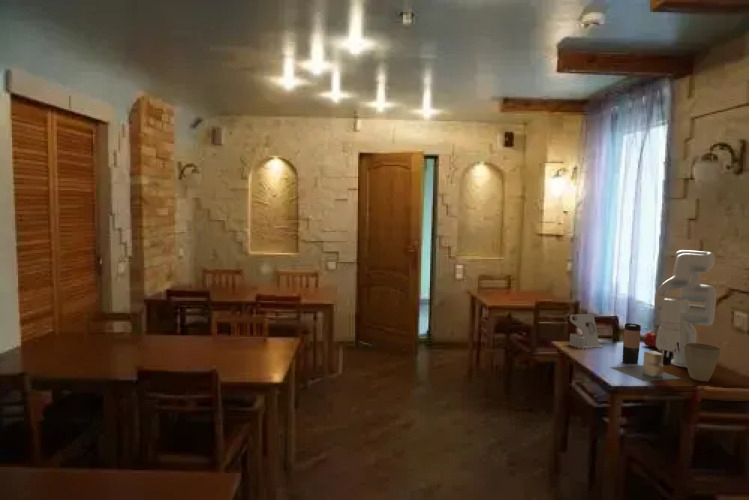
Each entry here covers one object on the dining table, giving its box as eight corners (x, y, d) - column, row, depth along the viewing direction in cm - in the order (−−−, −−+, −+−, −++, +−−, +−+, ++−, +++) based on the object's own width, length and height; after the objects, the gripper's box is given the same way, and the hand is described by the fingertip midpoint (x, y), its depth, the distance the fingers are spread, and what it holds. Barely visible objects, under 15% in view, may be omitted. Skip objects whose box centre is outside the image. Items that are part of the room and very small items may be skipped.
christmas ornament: (639, 345, 330) (640, 329, 329) (649, 344, 333) (651, 328, 333) (652, 349, 322) (653, 332, 321) (662, 348, 326) (663, 331, 325)
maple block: (652, 373, 269) (654, 351, 268) (662, 377, 263) (664, 354, 263) (642, 374, 267) (644, 351, 266) (652, 378, 261) (654, 354, 261)
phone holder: (578, 348, 316) (581, 317, 315) (567, 344, 326) (569, 313, 325) (603, 347, 322) (605, 316, 321) (591, 343, 332) (593, 313, 330)
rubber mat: (645, 366, 284) (645, 365, 284) (680, 379, 263) (681, 378, 263) (609, 368, 277) (609, 367, 277) (643, 382, 256) (643, 381, 256)
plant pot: (674, 375, 270) (676, 342, 268) (700, 374, 273) (702, 342, 272) (698, 385, 255) (701, 350, 254) (725, 384, 258) (728, 350, 257)
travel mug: (638, 362, 291) (641, 324, 290) (638, 365, 285) (641, 327, 283) (622, 360, 295) (624, 322, 293) (621, 363, 288) (624, 325, 286)
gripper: (650, 322, 262) (647, 360, 263) (676, 329, 248) (673, 370, 249) (663, 322, 264) (660, 360, 266) (690, 328, 250) (686, 369, 252)
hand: (666, 364), depth 257 cm, fingers closed
